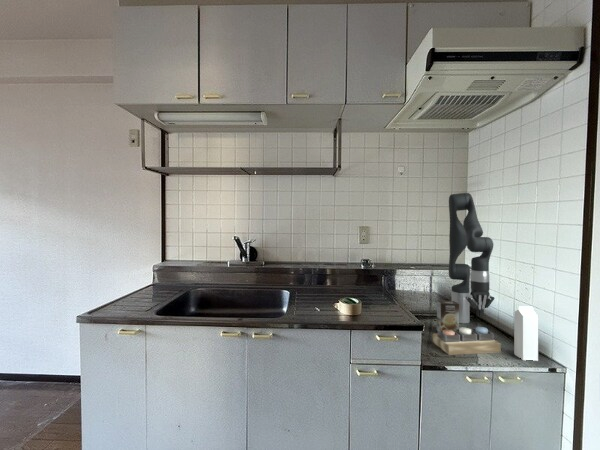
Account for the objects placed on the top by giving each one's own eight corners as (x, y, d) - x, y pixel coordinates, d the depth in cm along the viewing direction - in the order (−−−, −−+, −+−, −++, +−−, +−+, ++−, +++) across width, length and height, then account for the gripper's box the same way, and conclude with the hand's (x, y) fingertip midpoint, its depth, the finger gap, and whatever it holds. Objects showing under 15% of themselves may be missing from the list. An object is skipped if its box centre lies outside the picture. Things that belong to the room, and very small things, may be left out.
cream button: (456, 332, 142) (456, 327, 142) (467, 332, 142) (466, 327, 142) (463, 336, 137) (463, 331, 137) (473, 336, 137) (473, 331, 137)
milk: (514, 354, 132) (513, 304, 131) (528, 354, 131) (528, 304, 131) (523, 360, 126) (522, 308, 125) (538, 361, 125) (538, 308, 125)
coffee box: (440, 334, 155) (440, 303, 155) (436, 329, 161) (436, 300, 161) (459, 334, 154) (459, 303, 154) (454, 330, 160) (454, 300, 160)
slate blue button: (473, 332, 142) (473, 326, 142) (483, 331, 143) (483, 326, 143) (480, 336, 137) (480, 330, 137) (490, 335, 138) (490, 330, 138)
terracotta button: (440, 335, 141) (440, 330, 141) (450, 334, 142) (450, 329, 142) (446, 339, 136) (446, 334, 136) (456, 339, 137) (456, 333, 137)
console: (432, 341, 146) (432, 327, 146) (479, 339, 147) (479, 325, 147) (448, 354, 132) (448, 338, 132) (500, 352, 133) (500, 336, 133)
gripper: (488, 277, 144) (488, 313, 144) (461, 278, 143) (461, 314, 143) (499, 281, 136) (499, 319, 137) (471, 281, 136) (471, 319, 136)
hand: (480, 316), depth 140 cm, fingers closed
